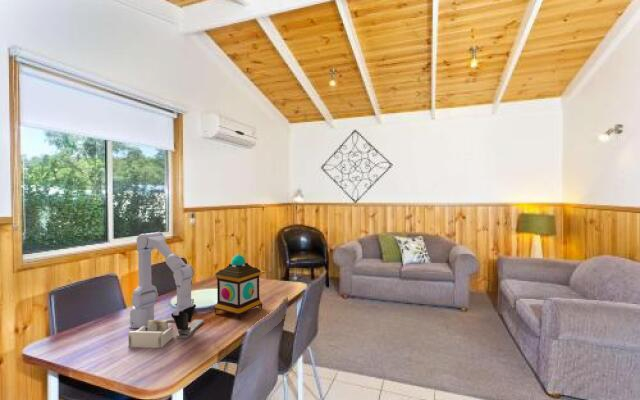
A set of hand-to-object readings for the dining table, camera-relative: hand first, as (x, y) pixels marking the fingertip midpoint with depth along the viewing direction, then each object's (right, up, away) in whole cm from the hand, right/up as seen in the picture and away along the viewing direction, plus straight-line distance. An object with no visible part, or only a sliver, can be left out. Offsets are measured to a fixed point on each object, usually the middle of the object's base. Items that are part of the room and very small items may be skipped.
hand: (184, 325), depth 135 cm
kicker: (-6, -4, 0) cm, 8 cm away
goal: (-11, -5, -5) cm, 13 cm away
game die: (-13, -4, +28) cm, 31 cm away
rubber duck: (-12, -5, -4) cm, 13 cm away
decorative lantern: (+16, -4, +28) cm, 33 cm away
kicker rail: (0, -4, +6) cm, 8 cm away
